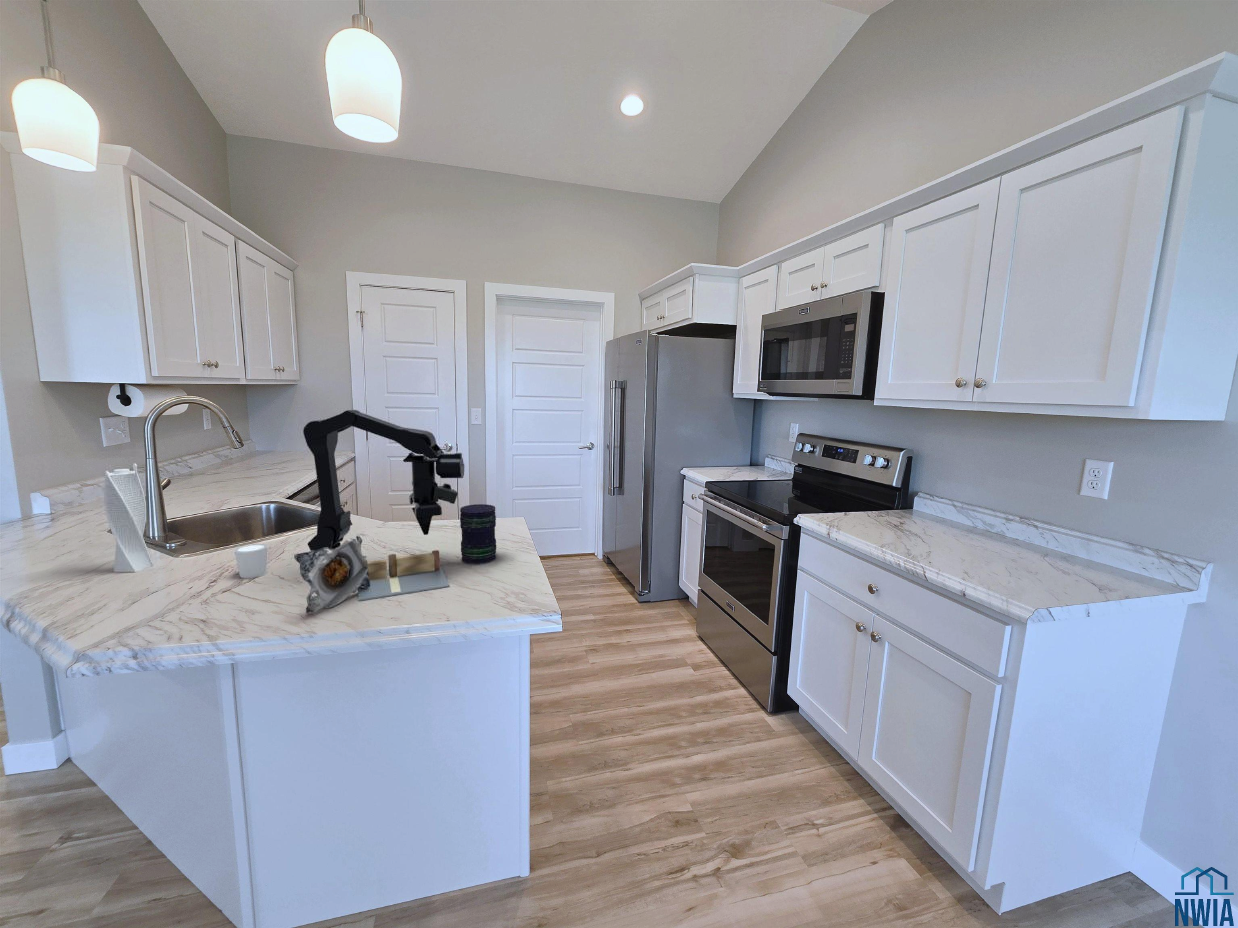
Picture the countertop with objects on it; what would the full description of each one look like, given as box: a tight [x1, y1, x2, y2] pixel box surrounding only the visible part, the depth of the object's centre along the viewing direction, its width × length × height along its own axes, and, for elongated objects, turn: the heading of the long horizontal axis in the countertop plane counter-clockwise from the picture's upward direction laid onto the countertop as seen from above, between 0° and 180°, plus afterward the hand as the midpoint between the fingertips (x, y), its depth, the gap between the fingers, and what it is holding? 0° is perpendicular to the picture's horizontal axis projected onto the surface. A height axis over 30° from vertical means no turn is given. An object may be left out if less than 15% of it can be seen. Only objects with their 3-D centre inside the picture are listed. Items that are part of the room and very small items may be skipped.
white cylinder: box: [234, 543, 268, 579], centre depth 129 cm, size 7×7×7 cm
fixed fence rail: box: [365, 559, 388, 581], centre depth 126 cm, size 6×2×5 cm, turn 118°
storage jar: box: [459, 503, 497, 565], centre depth 144 cm, size 10×10×15 cm
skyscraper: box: [103, 463, 154, 573], centre depth 130 cm, size 8×8×28 cm
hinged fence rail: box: [387, 549, 441, 577], centre depth 131 cm, size 12×2×5 cm, turn 117°
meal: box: [293, 535, 370, 614], centre depth 114 cm, size 15×4×13 cm, turn 161°
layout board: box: [357, 565, 451, 602], centre depth 127 cm, size 20×18×1 cm
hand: (425, 534), depth 137 cm, fingers closed
